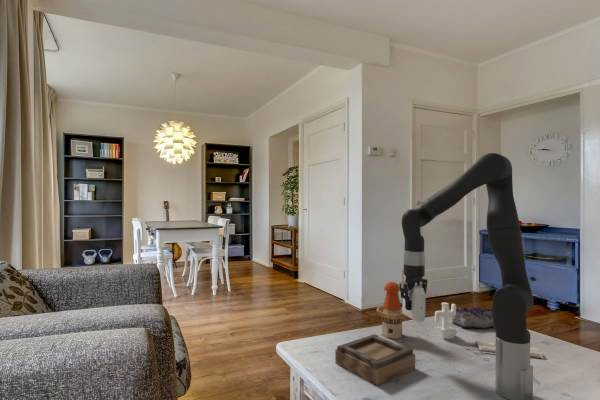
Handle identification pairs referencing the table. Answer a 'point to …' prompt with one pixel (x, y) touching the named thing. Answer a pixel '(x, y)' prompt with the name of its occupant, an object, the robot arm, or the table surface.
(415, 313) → the photo printer
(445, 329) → the figurine
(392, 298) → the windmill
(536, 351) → the newspaper
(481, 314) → the geode
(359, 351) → the walnut plinth
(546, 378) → the table surface
